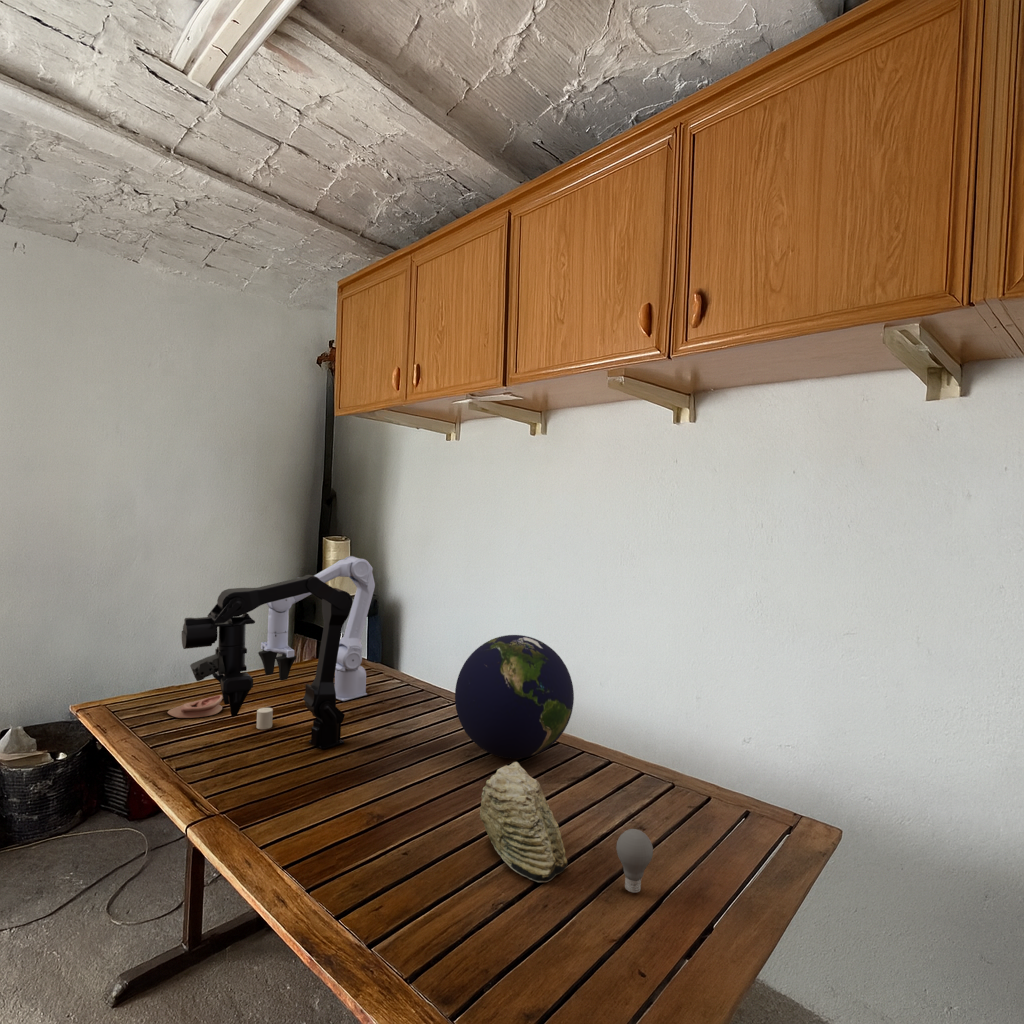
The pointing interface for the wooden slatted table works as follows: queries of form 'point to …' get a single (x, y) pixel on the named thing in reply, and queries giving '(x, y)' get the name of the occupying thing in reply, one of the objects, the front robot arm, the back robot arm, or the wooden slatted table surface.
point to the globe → (514, 696)
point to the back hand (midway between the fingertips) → (276, 677)
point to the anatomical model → (198, 708)
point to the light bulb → (634, 857)
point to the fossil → (522, 824)
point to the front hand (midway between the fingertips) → (230, 710)
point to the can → (264, 718)
